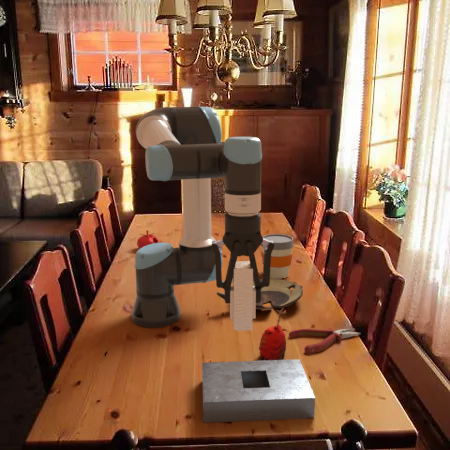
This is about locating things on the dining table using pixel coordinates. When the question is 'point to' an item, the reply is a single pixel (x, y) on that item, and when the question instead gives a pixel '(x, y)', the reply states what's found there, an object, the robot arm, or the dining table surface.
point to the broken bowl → (277, 294)
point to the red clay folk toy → (273, 342)
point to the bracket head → (256, 391)
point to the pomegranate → (147, 240)
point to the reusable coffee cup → (279, 255)
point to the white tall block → (243, 296)
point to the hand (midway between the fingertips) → (242, 315)
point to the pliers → (330, 335)
